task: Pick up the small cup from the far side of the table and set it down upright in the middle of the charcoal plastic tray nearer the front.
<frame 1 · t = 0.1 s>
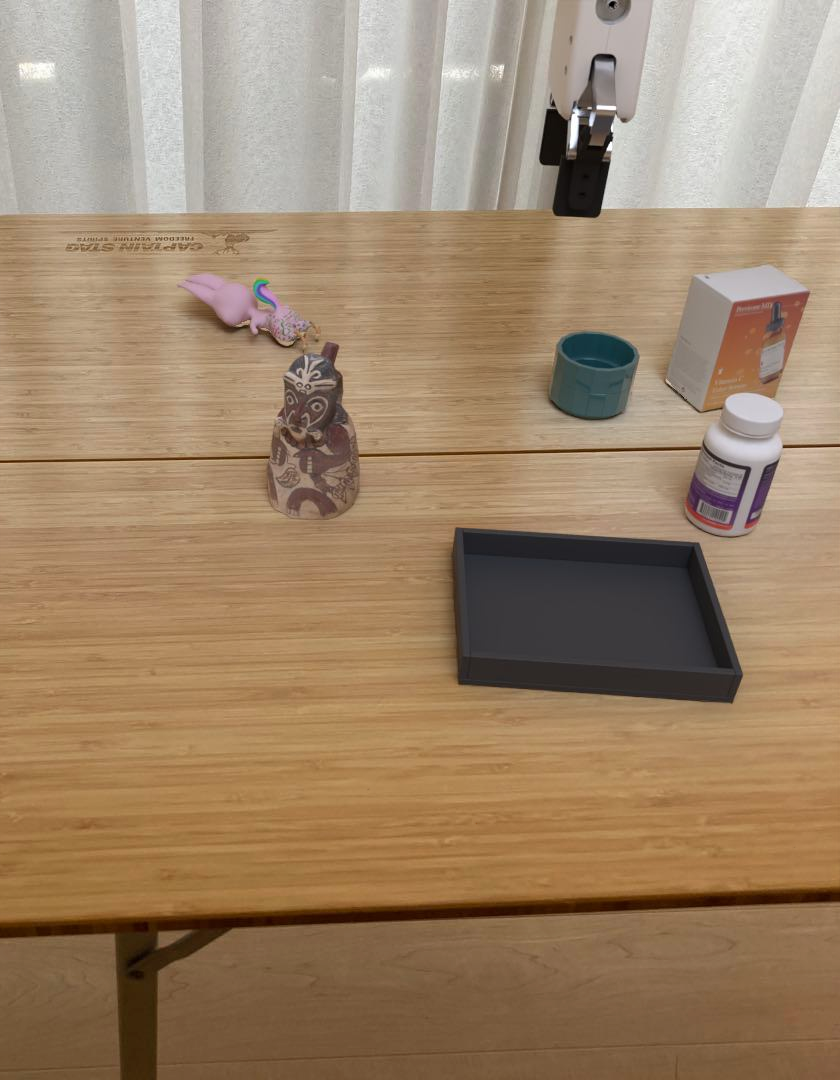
hand: (567, 188, 80), 21 cm above the table, tool pointing down, fingers open, 9 cm apart
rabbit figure: (246, 329, 106), on the table
figurine: (311, 494, 86), on the table
pill bottle: (718, 518, 84), on the table
cup: (587, 401, 97), on the table
tray: (581, 623, 74), on the table
small box: (718, 393, 99), on the table
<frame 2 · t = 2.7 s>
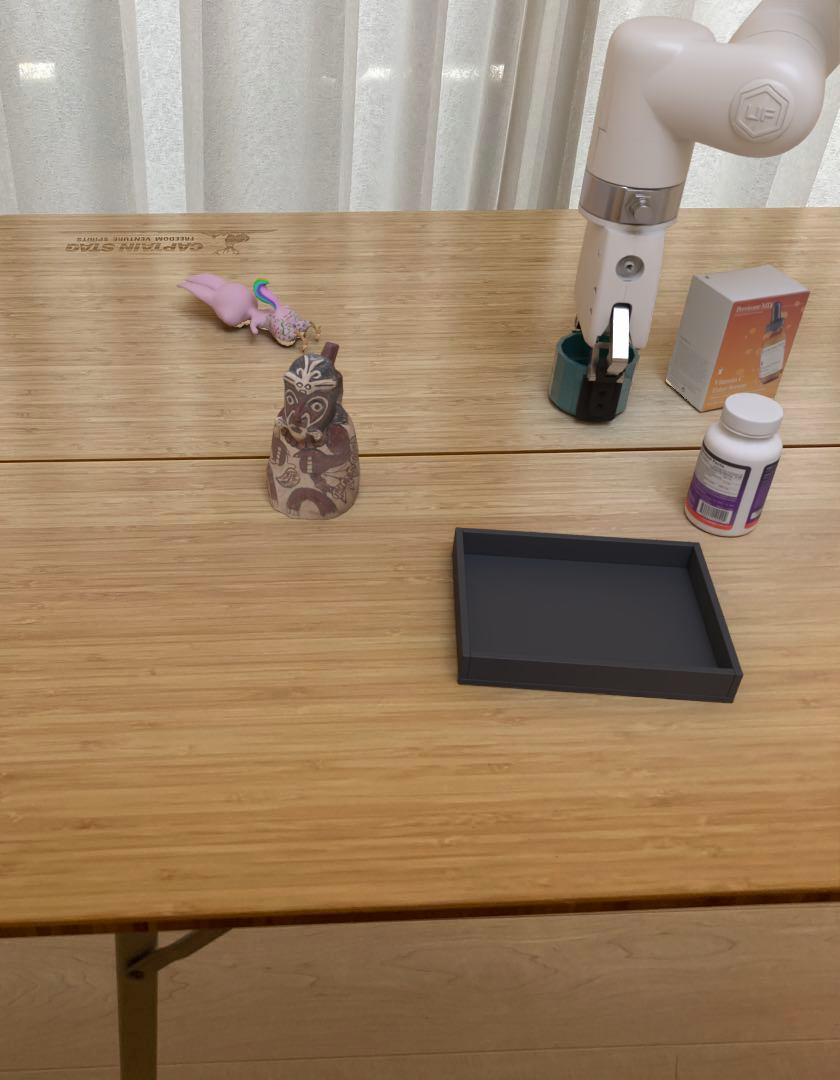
hand: (588, 393, 96), 1 cm above the table, tool pointing down, fingers closed on cup, 6 cm apart
cup: (587, 401, 97), on the table, touching gripper
everything else where it was.
when the fingers open (1 cm above the table, at t = 10.6 s): cup stays where it is, resting on tray.
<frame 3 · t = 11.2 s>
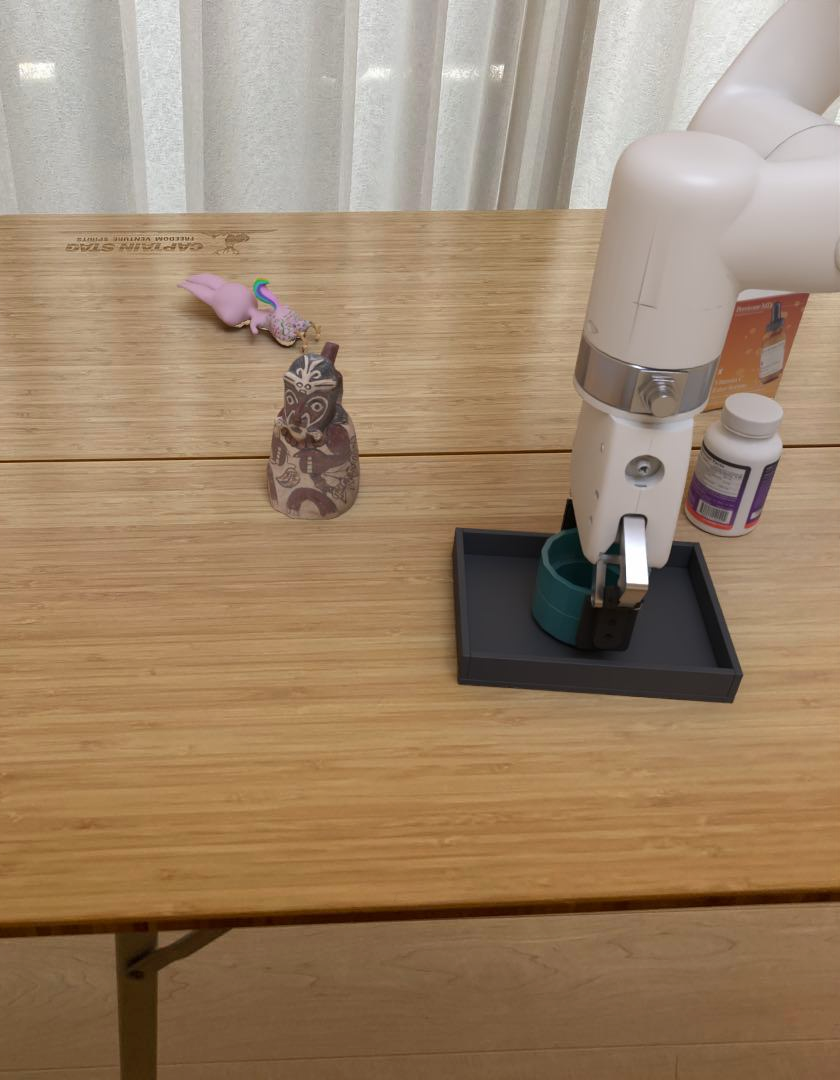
hand: (590, 595, 73), 2 cm above the table, tool pointing down, fingers open, 9 cm apart
cup: (581, 617, 74), resting on tray
everything else where it was.
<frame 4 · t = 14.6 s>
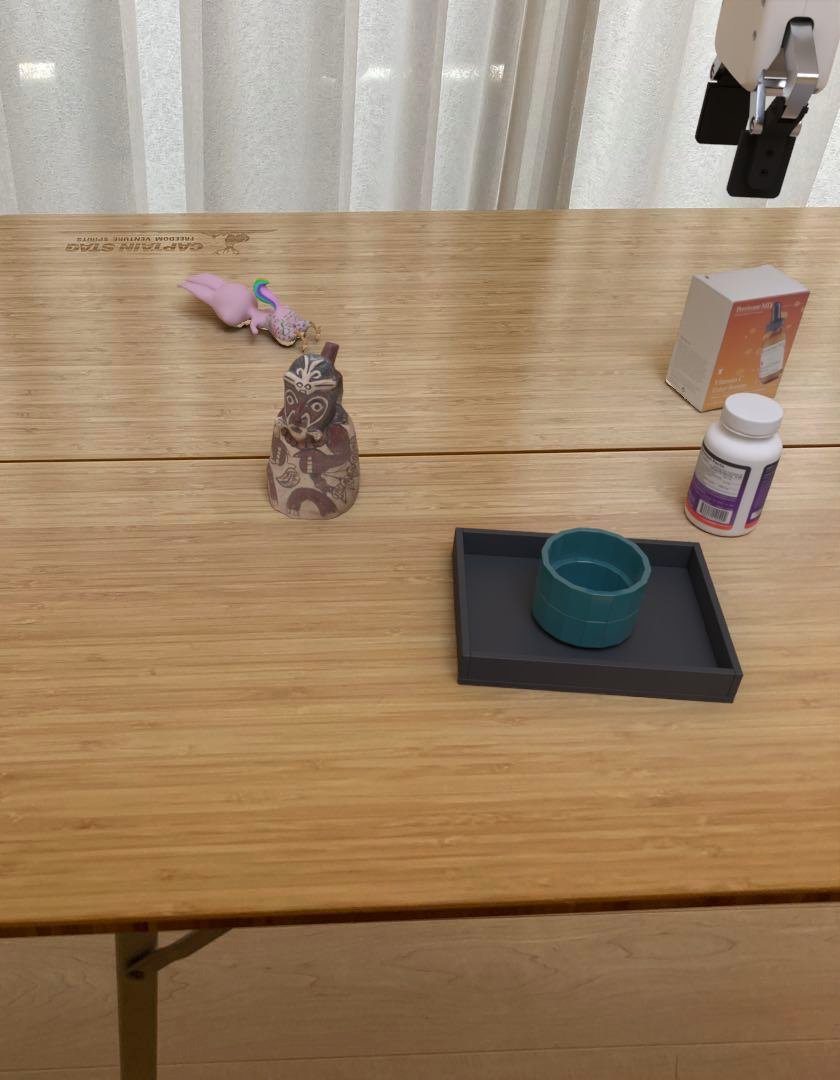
hand: (733, 168, 74), 24 cm above the table, tool pointing down, fingers open, 9 cm apart
nothing on the table moved.
at the end: cup inside the target area in the tray (0.1 cm from its centre), point 0.5 cm above the tray's base; cup tilted 0° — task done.
